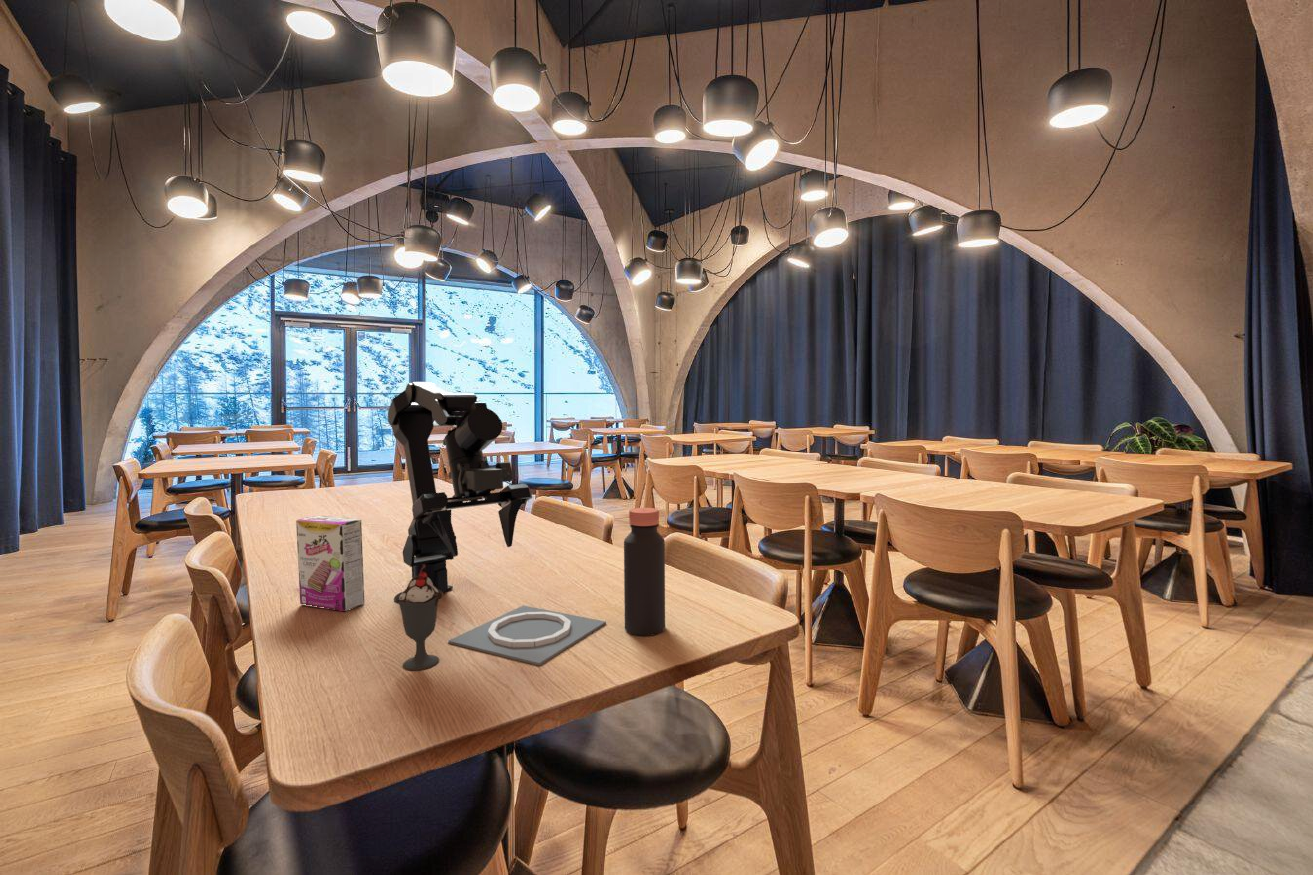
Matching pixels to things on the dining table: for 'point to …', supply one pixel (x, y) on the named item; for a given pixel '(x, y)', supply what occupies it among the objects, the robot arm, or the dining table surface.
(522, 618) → the ring mat
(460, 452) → the robot arm
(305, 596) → the candy bar box
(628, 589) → the bottle
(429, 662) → the sundae
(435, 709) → the dining table surface
